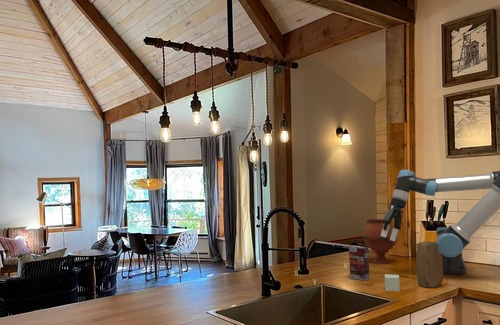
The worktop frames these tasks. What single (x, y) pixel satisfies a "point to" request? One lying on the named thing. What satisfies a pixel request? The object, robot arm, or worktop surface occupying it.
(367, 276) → the supplement box
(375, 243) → the goblet
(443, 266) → the robot arm
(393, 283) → the sage cube
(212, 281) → the worktop surface
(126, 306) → the worktop surface
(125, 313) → the worktop surface
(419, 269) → the block
